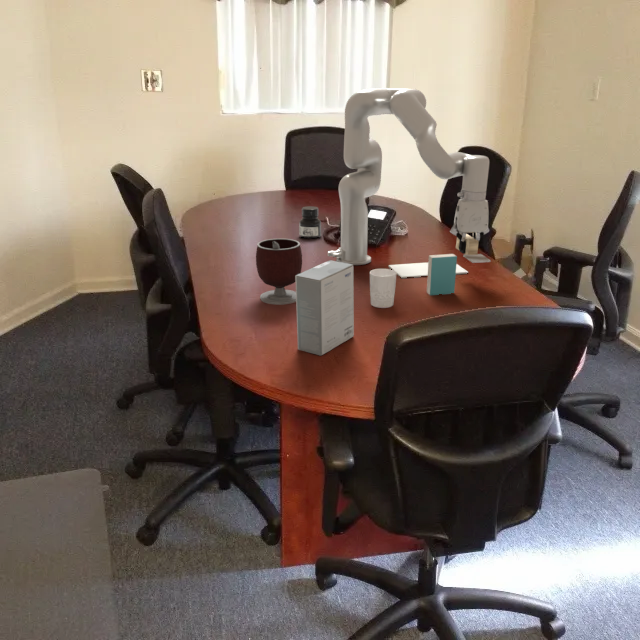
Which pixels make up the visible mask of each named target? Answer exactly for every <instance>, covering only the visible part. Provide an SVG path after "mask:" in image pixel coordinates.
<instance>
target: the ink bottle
mask: <svg viewBox="0 0 640 640" xmlns="http://www.w3.org/2000/svg"><path fill="white" fill-rule="evenodd" d="M301 217H302V218H301V219H300V220H299V225H298V228H299V229H298V232H299V233H298V234H299V237H300V236H301V237H305V238H304V239H306V238H315V239H317V238H316V237H319V238H320V237H322V221H321V220H320V219H319V207H318V206H307V205H306V206H303V207H301ZM301 237H300V238H301Z"/></svg>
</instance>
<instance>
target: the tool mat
mask: <svg viewBox="0 0 640 640" xmlns="http://www.w3.org/2000/svg"><path fill="white" fill-rule="evenodd" d="M388 269H392V270H394V271H396V273H397V274H396V276H398V277H399V276H400V277H401V279H408V278H407V277H414V278H422V277H421V276H428V262H415V263H400V264H389V265H388ZM467 273H468V274H469V271H468V270H466V269H465V268H463V267H462V266H461V265H460V264H458V263H456V275H467ZM400 277H399V278H400Z"/></svg>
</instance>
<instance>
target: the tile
mask: <svg viewBox="0 0 640 640" xmlns="http://www.w3.org/2000/svg"><path fill="white" fill-rule="evenodd" d="M457 259H458V256H457V255H456V254H454V253H446V254H432V255H431V254H430V255H428V277H427V281H426V294H428V295H429V296H438V295H439V294H442V295H452V294H451V293H454V294H455V288H456V276H457V274H456V264H458V261H457Z"/></svg>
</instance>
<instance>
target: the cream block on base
mask: <svg viewBox="0 0 640 640" xmlns="http://www.w3.org/2000/svg"><path fill="white" fill-rule="evenodd" d="M459 241H460V240H459V239H458V238H457V237H456V244H455V249H456V250H458V251H459V252H460V250H459ZM465 241H466V250H465V254H462V255H463V256H462V257H463V258H465V259H466V260H468V261H469V262H471V263H472V264H475V263H476V264H477V263H491V262H492V261H491V259H489V258H488V257H486V256H485V255H483V254H482V253H478V249H479V242H480V240H479V241H478V240H476V239H474V238H473V236H471V235H469V233H466V238H465Z"/></svg>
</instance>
